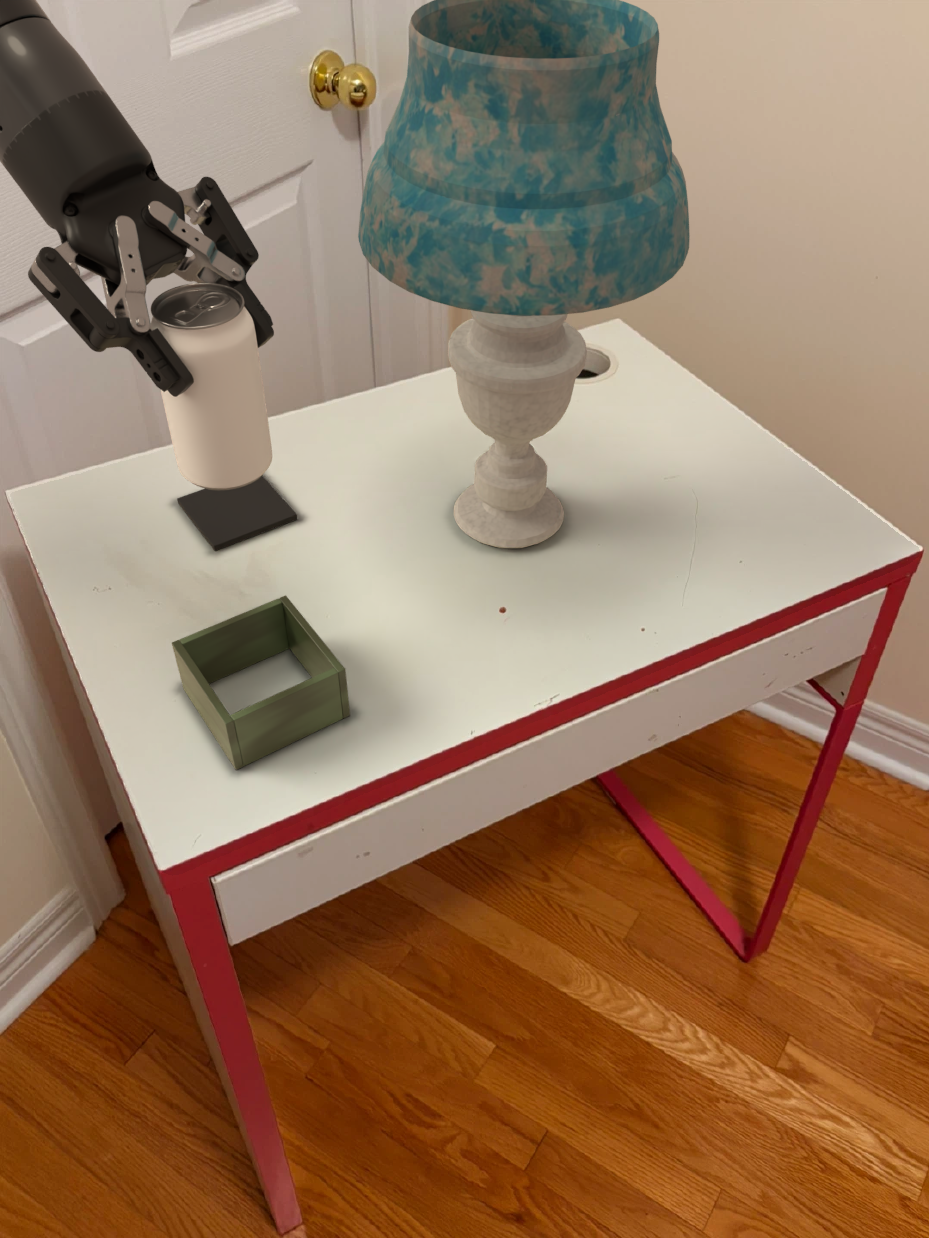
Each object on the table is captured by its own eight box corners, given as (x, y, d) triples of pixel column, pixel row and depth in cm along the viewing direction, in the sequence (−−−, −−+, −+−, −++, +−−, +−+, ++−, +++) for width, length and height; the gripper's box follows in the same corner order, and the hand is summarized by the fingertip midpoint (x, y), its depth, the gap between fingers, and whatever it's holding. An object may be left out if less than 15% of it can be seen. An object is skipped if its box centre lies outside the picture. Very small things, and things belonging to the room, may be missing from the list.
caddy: (235, 770, 74) (225, 724, 70) (183, 688, 79) (171, 642, 75) (350, 715, 77) (345, 668, 74) (292, 641, 83) (286, 594, 79)
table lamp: (687, 576, 89) (796, 62, 61) (414, 632, 83) (398, 98, 56) (582, 424, 105) (631, -36, 77) (349, 463, 100) (312, -15, 72)
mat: (214, 551, 90) (213, 546, 90) (177, 503, 95) (176, 498, 95) (297, 519, 94) (296, 514, 93) (258, 474, 98) (257, 469, 98)
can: (292, 456, 73) (273, 297, 65) (230, 505, 69) (200, 342, 61) (222, 427, 75) (195, 269, 67) (158, 472, 72) (120, 311, 63)
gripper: (-37, 126, 55) (162, 393, 59) (167, 57, 64) (330, 294, 67) (-64, 201, 61) (118, 439, 65) (125, 128, 69) (278, 343, 73)
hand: (226, 364), depth 66 cm, fingers closed on can, 6 cm apart
